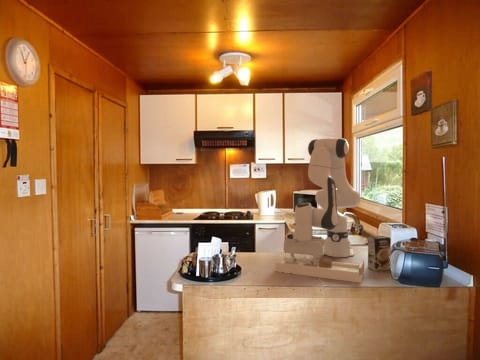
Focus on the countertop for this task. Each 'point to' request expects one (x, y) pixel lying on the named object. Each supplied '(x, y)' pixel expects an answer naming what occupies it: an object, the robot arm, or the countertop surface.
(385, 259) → the coffee box
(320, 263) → the walnut block
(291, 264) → the trap track
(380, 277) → the countertop surface
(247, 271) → the countertop surface
